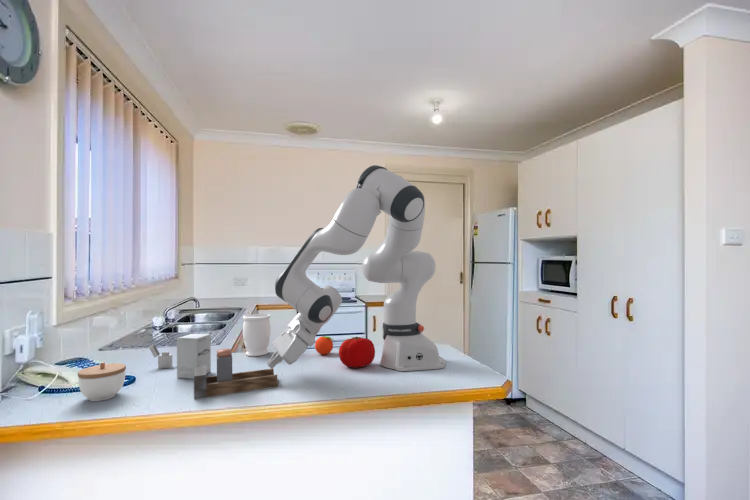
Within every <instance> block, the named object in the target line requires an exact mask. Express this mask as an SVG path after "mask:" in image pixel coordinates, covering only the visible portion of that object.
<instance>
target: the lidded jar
mask: <svg viewBox="0 0 750 500" xmlns="http://www.w3.org/2000/svg"><path fill="white" fill-rule="evenodd" d="M126 366H127V365H126V364H124V363H115V362H114V363H106V362H104V361H103V362H102V361H101V362H100V363H99V364H97V365H92V366H89V367H85V368H82V369H80V370H79V371H78V373H77V377H78V387H79V391H80V393H81V394H82V396H83V397H85V399H88V401H89V400H90V402H100V401H106V400H110V399H113V398H114V397H116V396H117V394H118V393H119V392H120V390H122V388H123V386H124V384H125V380H126V369H127V367H126Z"/></svg>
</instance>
